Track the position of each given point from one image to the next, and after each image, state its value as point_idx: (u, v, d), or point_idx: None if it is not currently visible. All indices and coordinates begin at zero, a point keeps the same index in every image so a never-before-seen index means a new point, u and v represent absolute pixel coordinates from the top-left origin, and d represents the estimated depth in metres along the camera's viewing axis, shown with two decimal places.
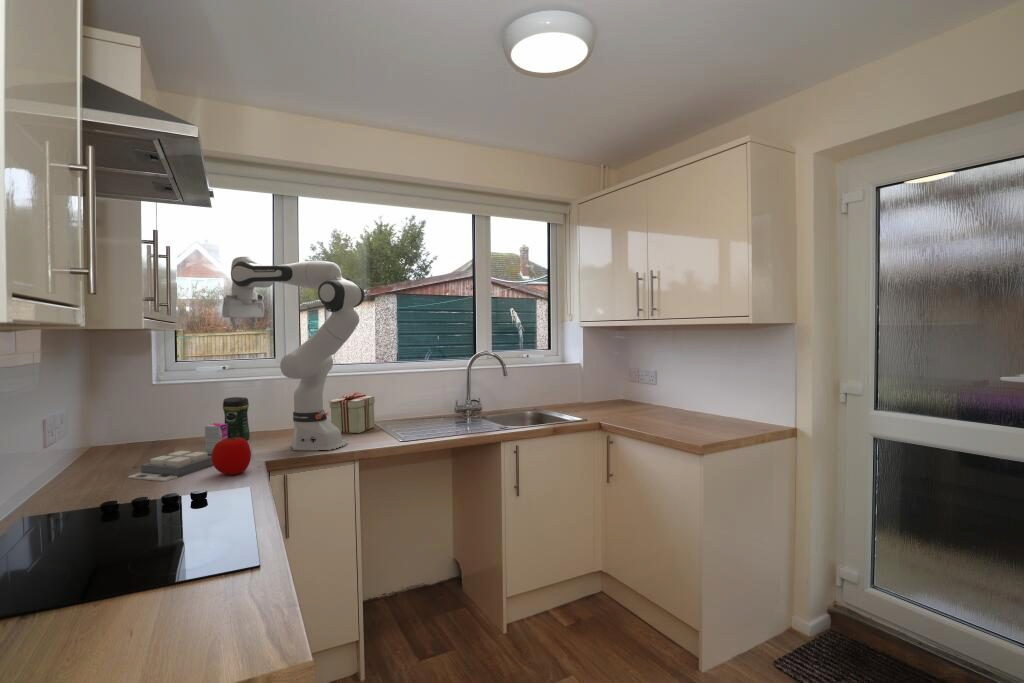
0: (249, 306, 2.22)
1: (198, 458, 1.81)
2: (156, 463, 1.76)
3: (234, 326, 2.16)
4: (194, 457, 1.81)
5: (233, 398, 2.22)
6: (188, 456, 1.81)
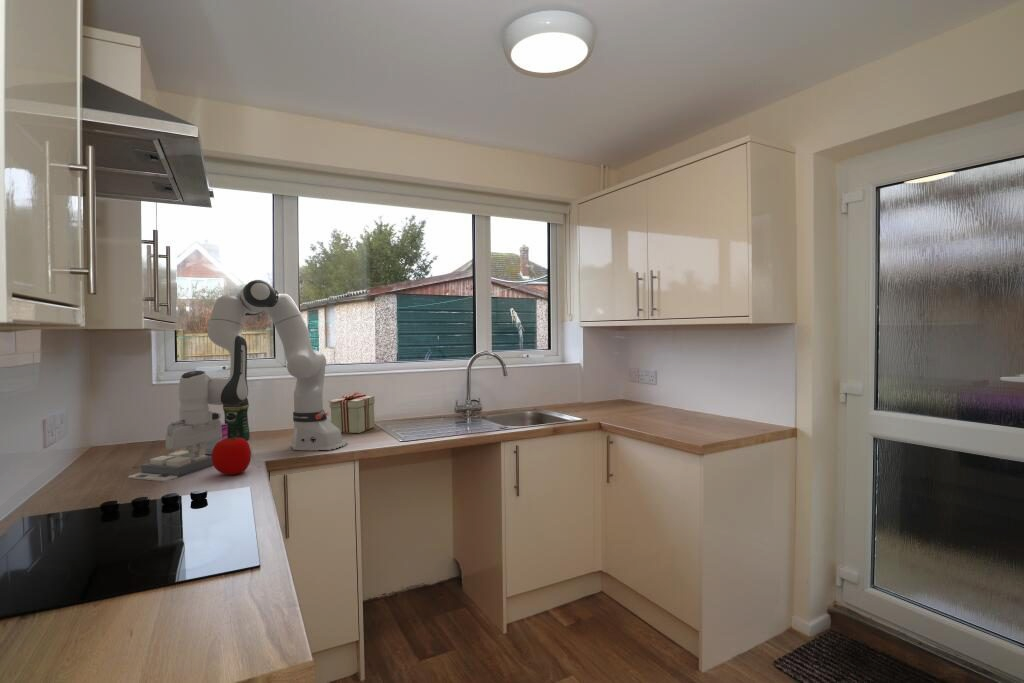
0: (201, 429, 1.84)
1: None
2: (156, 463, 1.76)
3: (191, 454, 1.82)
4: (194, 460, 1.81)
5: None
6: None
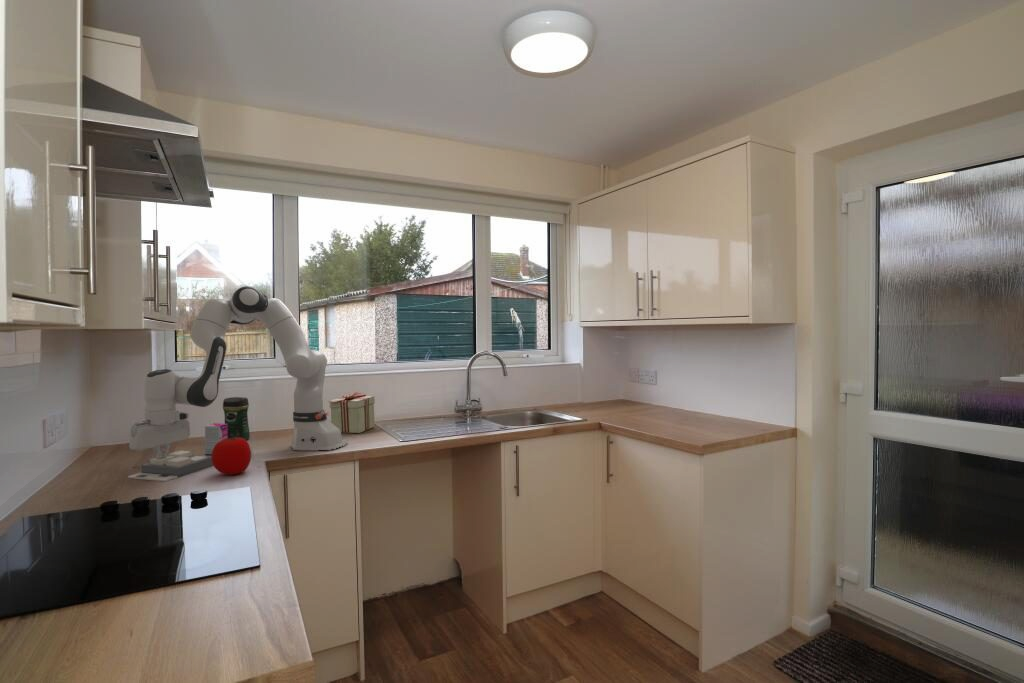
0: (168, 429, 1.79)
1: None
2: (156, 463, 1.76)
3: (157, 456, 1.77)
4: None
5: (233, 398, 2.22)
6: None
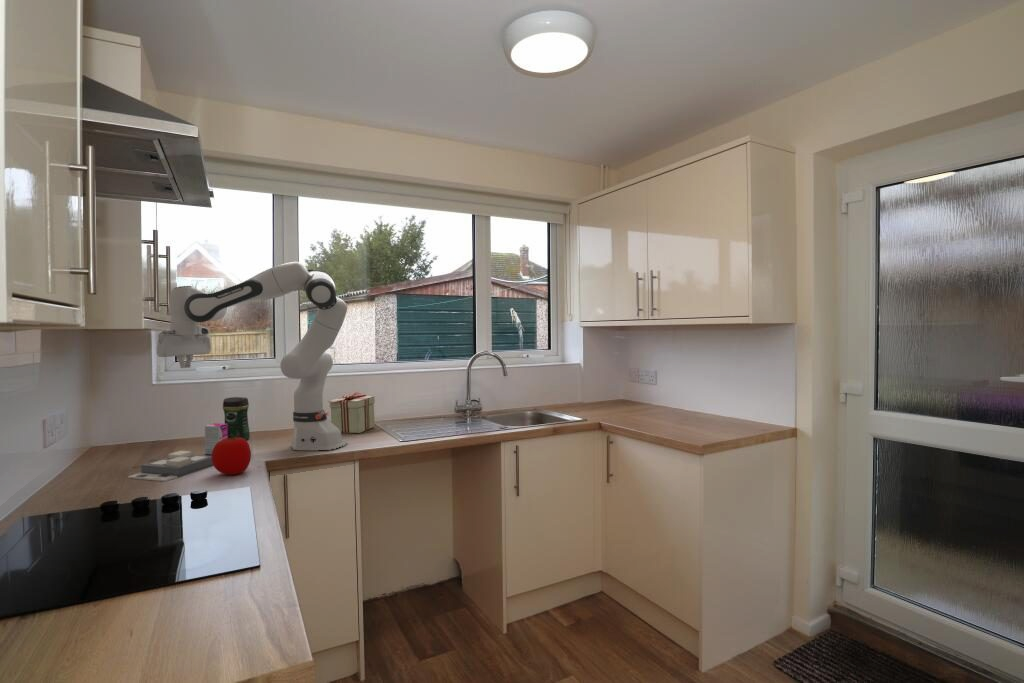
0: (191, 342, 1.93)
1: None
2: None
3: (182, 365, 1.91)
4: None
5: (233, 398, 2.22)
6: None
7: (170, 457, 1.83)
